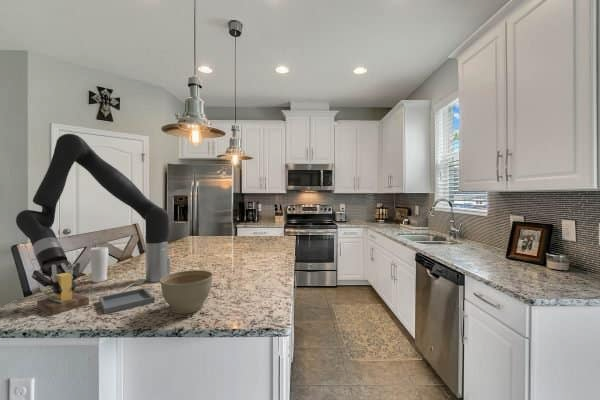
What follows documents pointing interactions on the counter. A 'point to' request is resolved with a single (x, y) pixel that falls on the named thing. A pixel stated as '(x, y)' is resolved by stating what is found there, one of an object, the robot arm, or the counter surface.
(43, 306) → the brown wooden compartment tray
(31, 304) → the counter surface
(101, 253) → the drinking glass
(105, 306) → the tray
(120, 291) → the spoon
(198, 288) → the planter bowl
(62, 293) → the yellow rectangular block
